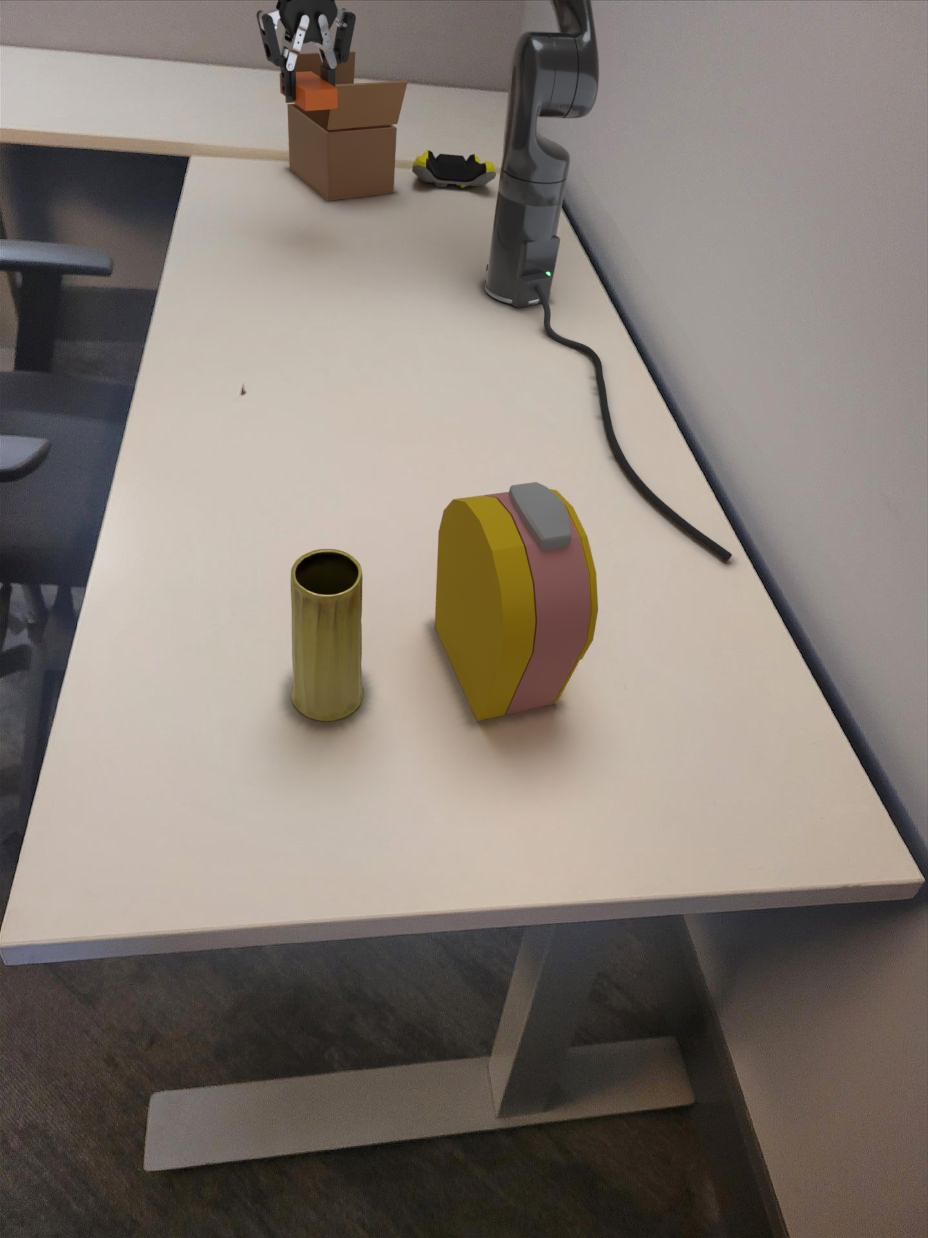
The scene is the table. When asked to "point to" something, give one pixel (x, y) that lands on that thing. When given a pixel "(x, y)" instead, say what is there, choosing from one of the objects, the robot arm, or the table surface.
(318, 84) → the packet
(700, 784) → the table surface
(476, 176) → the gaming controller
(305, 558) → the vase
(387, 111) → the box flap
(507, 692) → the tape measure
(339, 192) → the cardboard box
